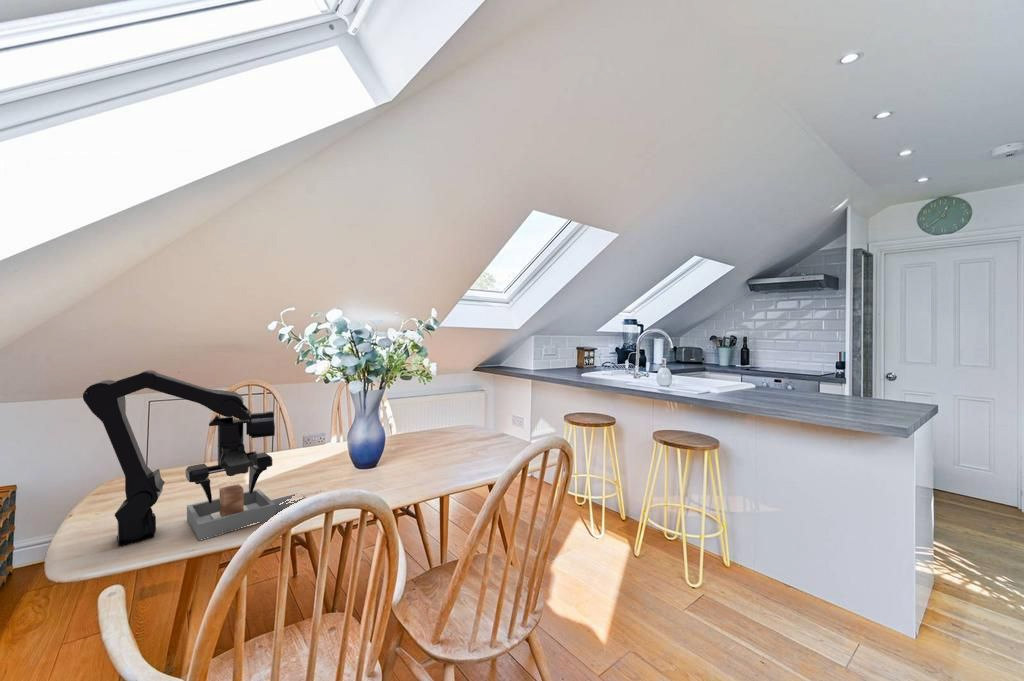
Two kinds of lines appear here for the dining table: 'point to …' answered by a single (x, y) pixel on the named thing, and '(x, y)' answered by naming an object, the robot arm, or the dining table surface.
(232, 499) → the block
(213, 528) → the crate
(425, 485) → the dining table surface
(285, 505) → the mat
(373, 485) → the dining table surface
